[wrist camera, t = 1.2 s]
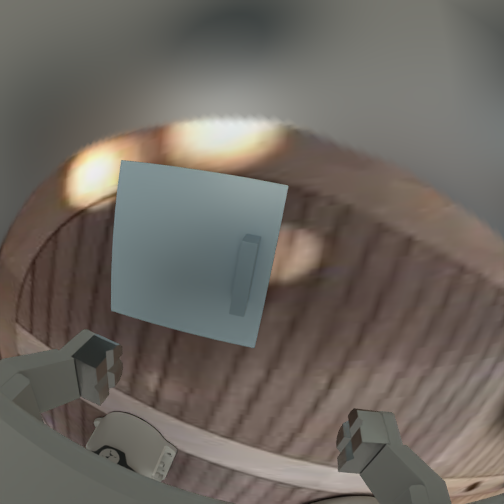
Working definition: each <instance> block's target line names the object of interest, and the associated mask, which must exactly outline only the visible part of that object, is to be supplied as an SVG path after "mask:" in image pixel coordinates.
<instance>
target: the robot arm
mask: <svg viewBox="0 0 504 504" xmlns="http://www.w3.org/2000/svg"><path fill="white" fill-rule="evenodd" d="M122 354H123V353H122V346H121V345H120V344H118V343H116V342H113V341H111V340H109V339H107V338H105V337H102V336H100V335H98V334H95V333H93V332H91V331H89V330H87V329H85V330H82V331H81V332H80V333H79V334H77V335H76V336H75V337H74V338H73V339H72V340H71V341H69V342H68V343H67V344H66V345H65V346H64V347H63V348H61V349H60V350H57V349H53V350H48V351H43V352H38V353H33V354H28V355H22V356H17V357H11V358H5V359H2V360H1V361H0V504H234V503H230V502H226V501H222V500H218V499H214V498H210V497H206V496H203V495H199V494H196V493H192V492H189V491H186V490H183V489H180V488H176V487H174V486H171V485H168V484H165V483H162V482H161V481H162V480H164V479H165V478H166V476H167V474H168V471H169V469H170V467H171V464H172V462H173V460H174V458H175V455H176V453H177V449H176V448H175V447H174V446H173V445H171V444H170V443H168V442H167V441H166V440H165V439H164V438H163V437H162V436H161V435H160V433H159V432H158V431H157V430H156V429H154V428H153V427H152V426H151V425H149V424H148V423H146V422H145V421H143V420H141V419H139V418H137V417H135V416H133V415H130V414H127V413H122V412H112V413H109V414H107V415H106V416H105V417H103V418H96V419H95V421H94V425H95V427H96V429H95V430H94V432H93V434H92V435H91V437H90V439H89V441H88V443H87V445H86V448H87V449H86V448H84V447H82V446H80V445H79V444H77V443H75V442H73V441H72V440H70V439H68V438H66V437H65V436H63V435H61V434H60V433H58V432H57V431H55V430H53V429H52V428H50V427H49V426H47V425H46V424H44V421H43V419H42V416H41V413H43V412H45V411H48V410H50V409H53V408H55V407H58V406H60V405H63V404H65V403H68V402H70V401H73V400H75V399H78V398H80V396H81V397H83V398H85V399H87V400H89V401H91V402H93V403H96V404H98V405H100V406H101V404H102V403H103V402H104V400H105V399H106V398H107V397H108V395H109V388H112V387H115V386H116V385H117V383H118V382H119V380H120V377H121V375H122V370H123V363H122V362H121V360H120V356H121V355H122ZM348 419H349V421H347V422H345V423H343V424H342V426H341V428H340V429H339V432H338V435H337V440H336V446H337V449H338V450H339V451H340V452H341V453H340V454H339V456H338V457H337V461H338V472H347V473H358V474H360V476H361V477H362V479H363V480H364V482H365V483H366V485H367V486H368V487H369V489H370V490H371V492H372V493H373V495H374V496H375V498H376V499H377V500H378V502H379V503H380V504H451V500H450V497H449V493H448V490H447V486H446V483H445V481H444V480H443V479H442V478H441V477H440V476H439V475H437V474H436V473H435V472H434V471H433V470H432V469H431V468H430V467H429V466H428V465H427V464H426V463H425V462H424V461H423V460H421V459H420V458H419V457H418V456H417V455H416V454H415V453H414V452H413V451H412V450H411V449H410V448H409V447H408V446H407V445H403V444H402V440H401V436H400V433H399V429H398V426H397V423H396V419H395V416H394V414H393V413H392V412H383V411H372V410H363V409H355V408H354V409H353V410H352V411H351V412H350V413H349V415H348ZM467 504H504V493H503V494H499V495H496V496H493V497H490V498H486V499H482V500H479V501H475V502H471V503H467Z"/></svg>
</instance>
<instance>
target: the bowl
mask: <svg viewBox="0 0 504 504" xmlns="http://www.w3.org/2000/svg"><path fill="white" fill-rule="evenodd" d="M311 504H380V503H379V502H378V500H377V499H376V498H375V497H370V496H346V497H338V498H331V499H326V500H322V501H318V502H314V503H311Z"/></svg>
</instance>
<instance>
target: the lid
mask: <svg viewBox="0 0 504 504" xmlns="http://www.w3.org/2000/svg"><path fill="white" fill-rule="evenodd" d="M287 190H288V185H283V184H278V183H273V182H268V181H262V180H257V179H251V178H246V177H240V176H234V175H228V174H222V173H216V172H210V171H203V170H196V169H190V168H182V167H175V166H168V165H160V164H152V163H143V162H134V161H124V160H121V166H120V173H119V181H118V189H117V198H116V208H115V219H114V232H113V248H112V273H111V311H114V312H117V313H120V314H123V315H127V316H130V317H133V318H137V319H140V320H143V321H147V322H150V323H154V324H157V325H161V326H164V327H168V328H172V329H175V330H179V331H183V332H187V333H191V334H195V335H199V336H203V337H207V338H211V339H215V340H220V341H224V342H228V343H233V344H238V345H242V346H247V347H252V348H255V344H256V339H257V335H258V330H259V326H260V321H261V316H262V312H263V307H264V303H265V298H266V293H267V289H268V284H269V279H270V274H271V270H272V265H273V260H274V255H275V250H276V246H277V241H278V236H279V231H280V226H281V221H282V216H283V211H284V206H285V201H286V196H287Z"/></svg>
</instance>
